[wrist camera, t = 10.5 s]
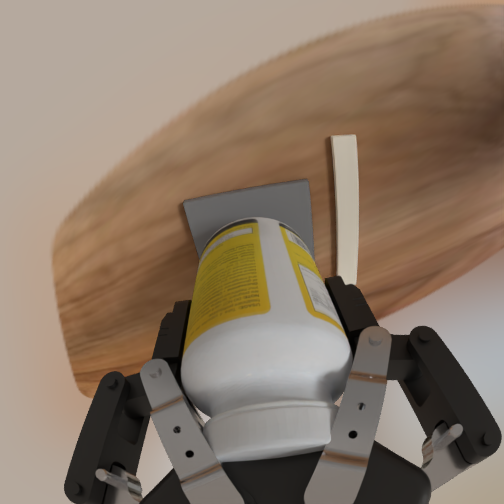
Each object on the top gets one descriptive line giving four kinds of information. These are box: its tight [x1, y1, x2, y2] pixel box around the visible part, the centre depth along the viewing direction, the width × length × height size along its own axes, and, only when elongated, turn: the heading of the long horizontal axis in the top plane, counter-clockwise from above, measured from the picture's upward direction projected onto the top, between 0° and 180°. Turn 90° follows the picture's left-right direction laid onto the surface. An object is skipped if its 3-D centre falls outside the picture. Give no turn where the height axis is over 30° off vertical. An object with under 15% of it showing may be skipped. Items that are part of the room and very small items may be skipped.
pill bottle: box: [181, 217, 353, 462], centre depth 11 cm, size 6×6×12 cm
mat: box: [183, 179, 315, 262], centre depth 18 cm, size 8×8×1 cm
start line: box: [331, 134, 359, 285], centre depth 17 cm, size 2×11×1 cm, turn 10°
